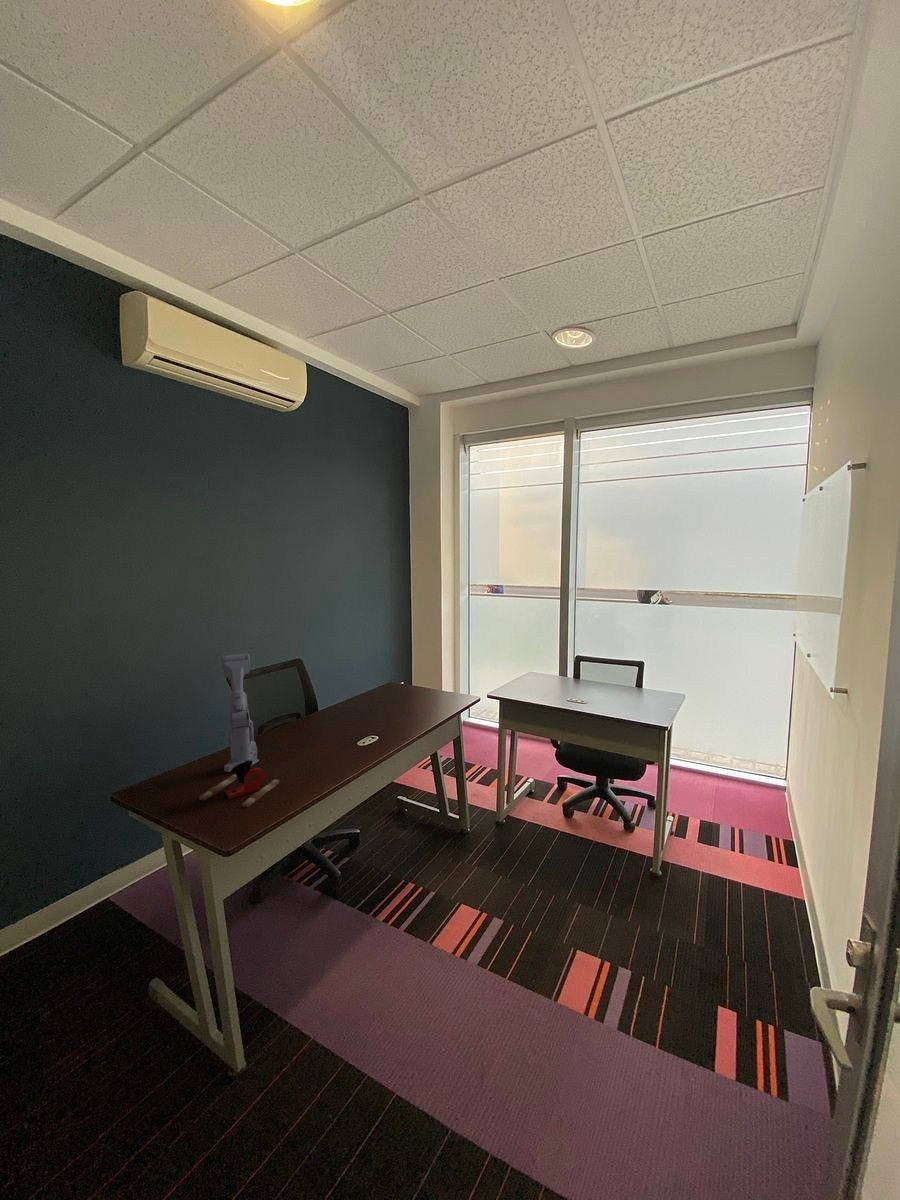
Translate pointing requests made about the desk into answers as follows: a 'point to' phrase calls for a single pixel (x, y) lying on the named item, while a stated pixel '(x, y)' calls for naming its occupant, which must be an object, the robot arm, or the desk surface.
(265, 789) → the guide track
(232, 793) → the bracket
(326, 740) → the desk surface
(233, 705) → the robot arm
